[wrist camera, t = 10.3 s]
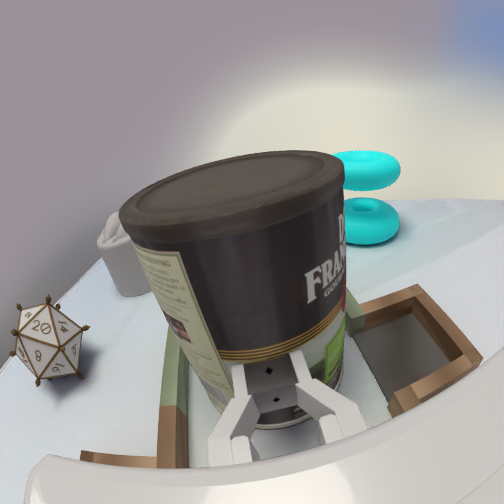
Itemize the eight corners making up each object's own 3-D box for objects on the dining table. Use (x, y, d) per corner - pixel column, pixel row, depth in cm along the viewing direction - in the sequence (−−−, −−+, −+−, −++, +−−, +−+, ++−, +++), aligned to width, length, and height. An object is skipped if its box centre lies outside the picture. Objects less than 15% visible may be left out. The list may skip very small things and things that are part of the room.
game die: (99, 378, 24) (108, 298, 23) (67, 424, 15) (63, 331, 15) (38, 347, 23) (41, 269, 22) (-2, 379, 14) (-12, 286, 14)
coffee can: (350, 325, 21) (347, 144, 14) (327, 442, 13) (334, 215, 6) (236, 314, 25) (193, 161, 18) (181, 406, 17) (74, 228, 10)
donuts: (318, 167, 27) (320, 151, 35) (326, 250, 31) (327, 216, 40) (410, 164, 24) (389, 148, 32) (406, 247, 28) (390, 214, 37)
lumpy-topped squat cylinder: (203, 243, 40) (187, 187, 36) (160, 300, 29) (131, 231, 25) (149, 246, 43) (131, 198, 39) (101, 295, 32) (74, 238, 28)
